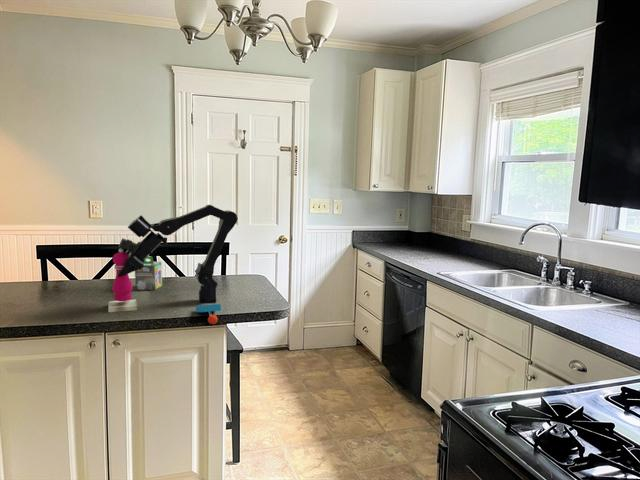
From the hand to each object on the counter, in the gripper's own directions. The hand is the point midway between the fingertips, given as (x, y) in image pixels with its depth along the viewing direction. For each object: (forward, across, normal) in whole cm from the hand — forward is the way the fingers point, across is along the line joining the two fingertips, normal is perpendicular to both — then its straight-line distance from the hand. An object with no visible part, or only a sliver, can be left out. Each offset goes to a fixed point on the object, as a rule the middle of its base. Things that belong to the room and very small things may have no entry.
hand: (118, 274), depth 178 cm
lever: (-11, +22, +31) cm, 40 cm away
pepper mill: (+6, 0, +8) cm, 10 cm away
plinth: (+8, 0, +10) cm, 13 cm away
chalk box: (0, -30, +18) cm, 35 cm away
